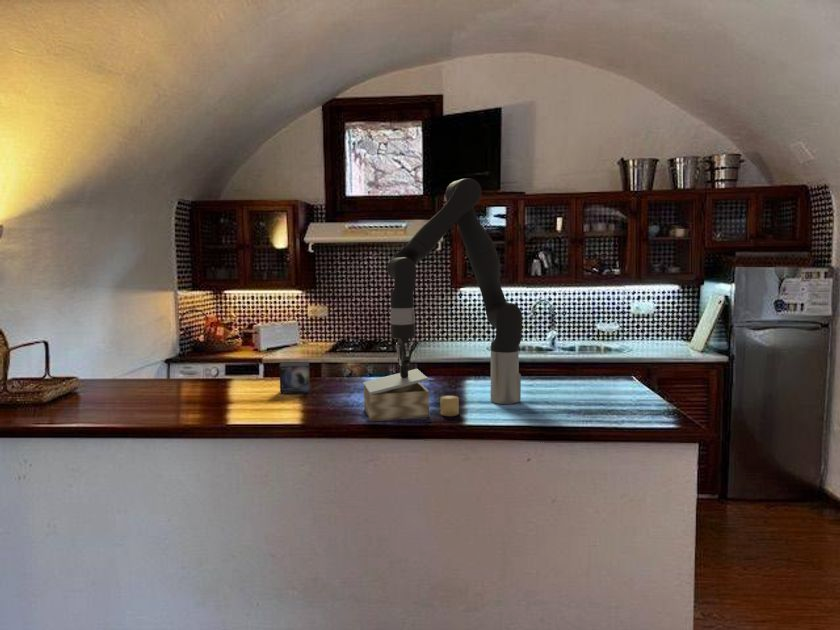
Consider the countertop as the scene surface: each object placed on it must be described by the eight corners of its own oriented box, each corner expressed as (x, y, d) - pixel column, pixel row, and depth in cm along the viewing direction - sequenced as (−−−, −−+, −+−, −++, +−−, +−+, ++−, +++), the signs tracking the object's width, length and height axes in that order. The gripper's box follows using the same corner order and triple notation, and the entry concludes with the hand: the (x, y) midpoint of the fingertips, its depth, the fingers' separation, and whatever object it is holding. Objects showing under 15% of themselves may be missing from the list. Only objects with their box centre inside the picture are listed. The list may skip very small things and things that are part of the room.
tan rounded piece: (455, 410, 188) (455, 395, 187) (460, 415, 183) (460, 399, 182) (438, 412, 187) (438, 396, 186) (443, 416, 181) (443, 400, 181)
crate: (418, 405, 195) (418, 381, 194) (429, 417, 181) (429, 391, 180) (364, 409, 191) (363, 384, 190) (370, 421, 177) (370, 395, 176)
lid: (417, 371, 194) (416, 368, 193) (428, 380, 180) (427, 377, 179) (363, 384, 190) (363, 382, 190) (370, 395, 176) (369, 392, 176)
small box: (279, 395, 211) (278, 366, 209) (280, 391, 217) (279, 362, 216) (310, 393, 213) (309, 364, 212) (309, 389, 219) (309, 361, 218)
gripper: (419, 324, 178) (420, 380, 180) (410, 319, 191) (411, 372, 192) (394, 325, 176) (396, 382, 178) (387, 320, 189) (388, 373, 191)
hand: (404, 377), depth 185 cm, fingers closed
